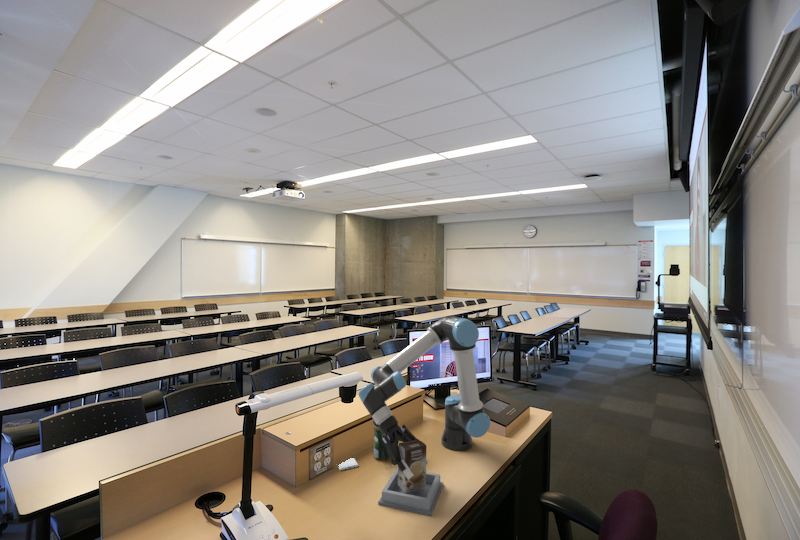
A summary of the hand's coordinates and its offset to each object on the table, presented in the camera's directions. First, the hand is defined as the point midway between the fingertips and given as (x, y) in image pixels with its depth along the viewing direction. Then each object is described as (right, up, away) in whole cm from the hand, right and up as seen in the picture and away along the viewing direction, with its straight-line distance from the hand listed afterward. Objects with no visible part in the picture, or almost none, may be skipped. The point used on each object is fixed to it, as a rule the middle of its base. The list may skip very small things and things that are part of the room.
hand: (418, 470), depth 143 cm
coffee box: (-3, -7, +2) cm, 8 cm away
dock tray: (-2, -10, +2) cm, 10 cm away
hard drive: (-31, -10, +25) cm, 42 cm away
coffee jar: (-15, -10, +31) cm, 36 cm away
